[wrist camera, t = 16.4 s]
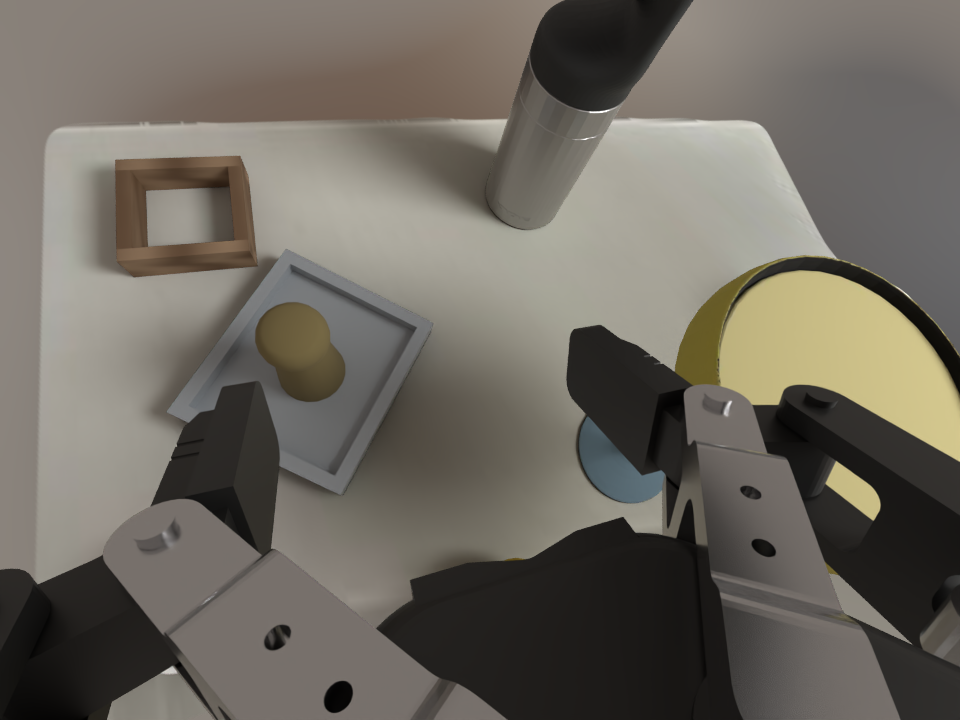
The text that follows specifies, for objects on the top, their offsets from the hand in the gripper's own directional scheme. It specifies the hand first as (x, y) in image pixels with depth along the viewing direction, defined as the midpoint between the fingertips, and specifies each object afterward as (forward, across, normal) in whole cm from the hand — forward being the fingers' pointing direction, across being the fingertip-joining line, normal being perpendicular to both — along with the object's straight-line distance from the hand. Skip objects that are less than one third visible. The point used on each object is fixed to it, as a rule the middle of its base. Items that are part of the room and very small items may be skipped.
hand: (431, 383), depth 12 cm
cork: (+30, +6, +15) cm, 34 cm away
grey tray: (+31, +6, +16) cm, 35 cm away
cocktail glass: (+21, -24, +26) cm, 41 cm away
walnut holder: (+43, +15, +3) cm, 46 cm away
